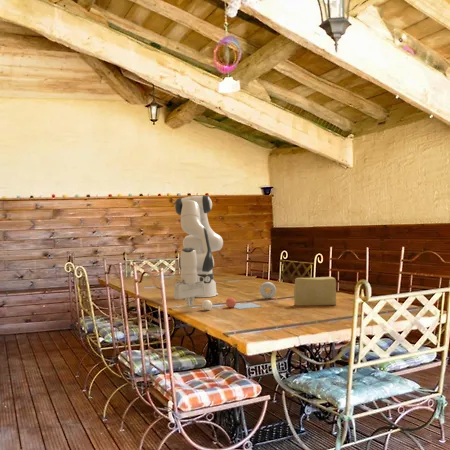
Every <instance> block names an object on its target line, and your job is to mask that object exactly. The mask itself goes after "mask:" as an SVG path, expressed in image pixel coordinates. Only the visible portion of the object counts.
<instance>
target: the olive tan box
mask: <svg viewBox="0 0 450 450" xmlns="http://www.w3.org/2000/svg"><path fill="white" fill-rule="evenodd" d="M293 289H294V290H293V301H294V303H293V304H294V306H337V280H336V277H333V276H320V277H319V276H317V277H296V278H295V279H294V288H293Z"/></svg>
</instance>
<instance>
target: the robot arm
mask: <svg viewBox="0 0 450 450" xmlns="http://www.w3.org/2000/svg"><path fill="white" fill-rule="evenodd" d="M212 208H213V202H212V199H211V197H210V196H209V195H192V196H185V197H178V198H177V199H176V200H175V204H174V210H175V213H176V214H177V215H178V216H180V226H181V230H182V231H183V232H184V233H185V234H187V235H186V236H184V238H183V240H182V246H183V249H181V251H180V256H179V259H178V268H179V269H180V270H181V271H180V280H176V282H175V283H174V288H173V298H174V299H175V300H184V301H185V302H186V306H187V307H191V306H194V301H195V298H211V297H215V296H218V295H219V293H218V292H217V285H216V284H217V283H216V280H214V273H213V269H214V268H215V259H214V256H213V252H217V251H221V249H222V248H223V246H224V240H223V237H222V236H221V235H220V234H218V233H216V232H215V231H214V230H213V229H212V227H211V226H210V222H209V218H208V214H209V213H210V212H211V211H212Z"/></svg>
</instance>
